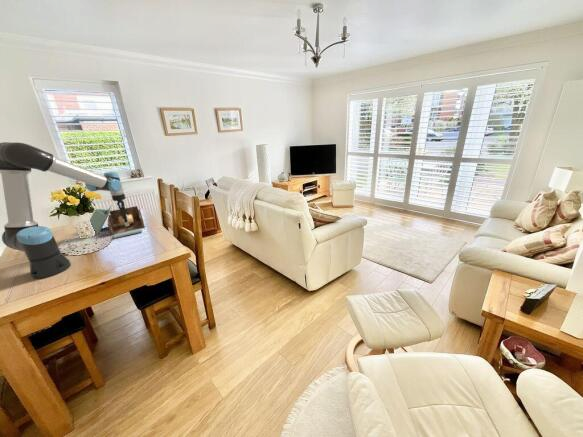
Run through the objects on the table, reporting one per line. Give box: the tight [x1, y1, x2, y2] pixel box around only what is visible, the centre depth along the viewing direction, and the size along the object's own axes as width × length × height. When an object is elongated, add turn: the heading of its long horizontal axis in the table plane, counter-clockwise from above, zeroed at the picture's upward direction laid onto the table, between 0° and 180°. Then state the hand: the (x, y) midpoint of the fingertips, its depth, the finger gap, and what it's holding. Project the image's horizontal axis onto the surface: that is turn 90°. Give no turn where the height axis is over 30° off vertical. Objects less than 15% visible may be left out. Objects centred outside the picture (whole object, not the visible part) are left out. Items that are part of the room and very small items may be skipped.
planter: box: [89, 205, 113, 233], centre depth 171 cm, size 16×8×20 cm
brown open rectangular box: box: [107, 205, 146, 236], centre depth 172 cm, size 20×22×12 cm
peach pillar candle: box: [118, 214, 134, 226], centre depth 172 cm, size 8×7×7 cm
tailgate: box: [113, 228, 143, 239], centre depth 162 cm, size 16×1×8 cm
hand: (127, 224), depth 173 cm, fingers closed on peach pillar candle, 7 cm apart
